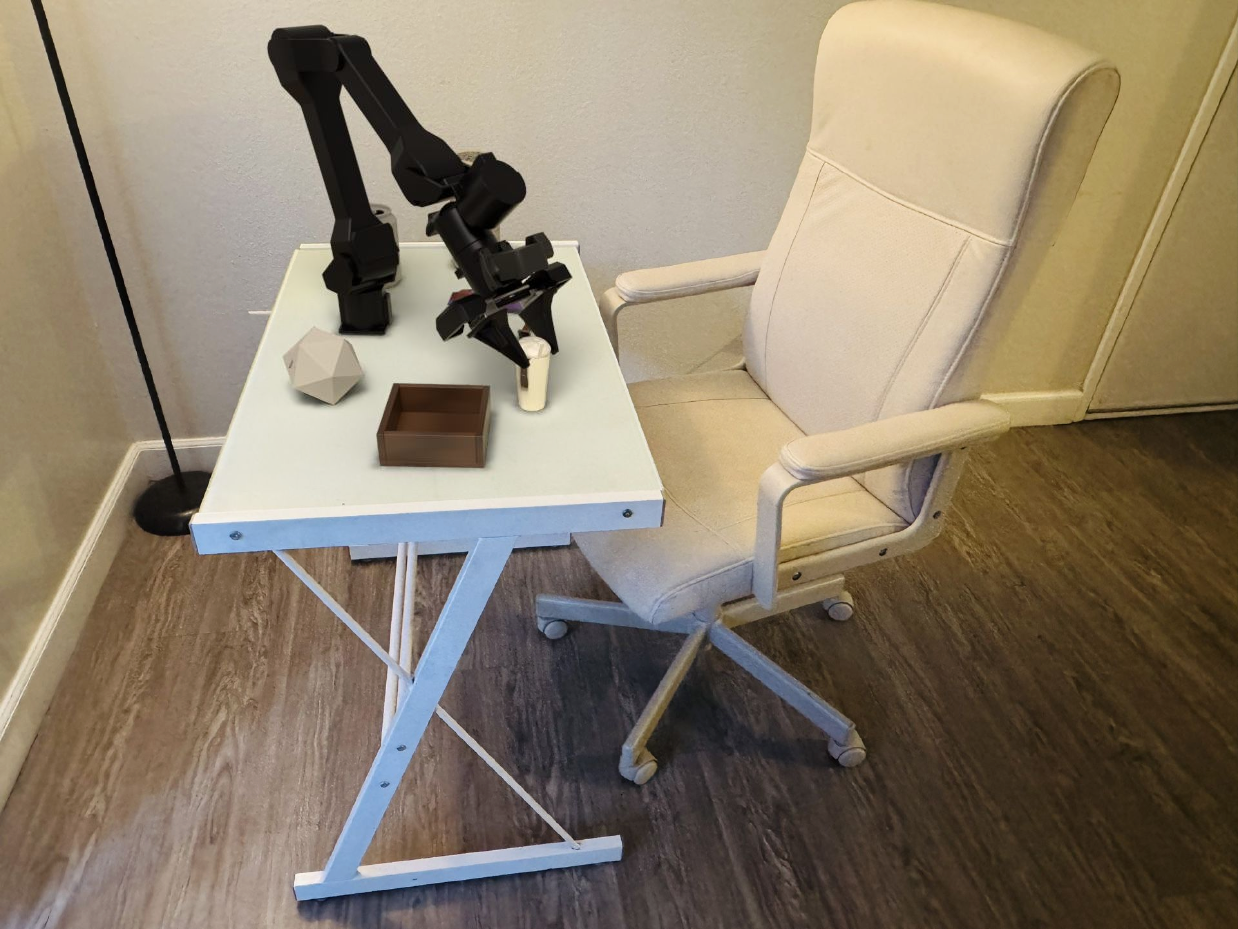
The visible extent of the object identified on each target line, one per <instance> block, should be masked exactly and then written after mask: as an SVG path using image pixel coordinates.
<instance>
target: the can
mask: <svg viewBox="0 0 1238 929" xmlns="http://www.w3.org/2000/svg"><path fill="white" fill-rule="evenodd" d="M369 203H370V202H369ZM370 207H371V210H372V212H373V213H374V214H375V215H376V216H377V217H378V218H379V219H380V221H381V222H382V223H383V224H384V223H387V222H388V223H390V225H391V226H392V228H393V232H394V237H395V241H396V244H397V246H398V248H399V249H400V242H399V230H398V219H397V217H396V215H394V214H393V213H392V208H391V207H390V206H389V205H387V204H383V203H377V202H376V203H375V202H371V203H370ZM400 252H401V251H400ZM400 252H398V253H399V265H398V267H397V272H396V278H395V282H392V283H391V282H390V283H387V284H385V285H386V289H390V288H392V287H394V286H396V285H397V284H398V282H399V281H400V280H401V279H402V276H403V274H402V262H401V253H400Z"/></svg>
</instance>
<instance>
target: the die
mask: <svg viewBox="0 0 1238 929" xmlns="http://www.w3.org/2000/svg"><path fill="white" fill-rule="evenodd" d="M282 360H283V361H284V365H285V368H286V371H287V373H288V374H287V375H288V377H289V380H290V383H291V386H292V388H293V389H295V390H297V391H300V392H302V393H304V394H306V395H309V396H311V397H313V398H316V399H318V400H321V401H323V402H326V403H327V404H329V405H332V406H335V404H337V402H338V401H339V400H341V399H342V397H344V396H345V395H346V394H347V392H348V391H349V390H351V389H352V388H353V387H354V386H355V384H357V383H358V382H359V381H360V380H361V379H362V378H363V377H364V376H365V374H364V371H363V368H362V367H361V366H362V365H361V364H360V361H359V359H358V356H357V353H356V350H355V349H354V346H353V344H352V343H351V342H349V341H348V340H347V339H346V338H345V337H342V336H340V335H338V334H337V335H336V334H334V333H332V332H329V331H326V330H323V329H321V328H319V327H316V326H312V327H311V328H310V330H308V331H307V332H306V333H305V334H304V335H303V336H302V337H301V338H300V339H299V340H298V341H297V342H296V343H295V344H294V345H293V346H292V347H290V348H289V350H288V351H287V352H286V353H284V354H283V355H282Z"/></svg>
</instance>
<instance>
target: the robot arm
mask: <svg viewBox="0 0 1238 929" xmlns="http://www.w3.org/2000/svg"><path fill="white" fill-rule="evenodd" d="M266 49H267V55H268V59H269V62H270V63H271V65H272V67H273V69H274V71H275V74H276V78H277V79H278V81H279V84H280V86H281V88H283V89H284V91H286V92H287V94H288V95H290V97H291V98H292V99H293V100H294V101H295V102H296V103H297V104H298V105H299V107H300V109H301V112H302V115H303V118H304V121H305V125H306V128H307V132H308V134H309V138H310V142H311V145H312V148H313V151H314V154H315V157H316V161H317V164H318V168H319V171H320V174H321V177H322V180H323V184H324V187H325V190H326V194H327V196H328V197H327V198H328V201H329V204H330V206H331V210H332V213H333V217H334V224H333V228H332V232H331V236H330V241H329V245H330V249H331V254H332V260H331V261H330V263H329V264H328V265H327V266H326V268H325V269H324V270H323V272H322V273H321V277H322V279H323V283H324V285H325V288H326V290H328V291H330V292H333V293H334V294H336V295H337V302H338V310H339V317H340V318H339V319H340V326H339V327H338V329H337V330H338V333H339V334H340V335H341V334H342V335H373V336H375V335H379V336H383V335H385V334H386V332H387V330H388V328H389V326H390V325H391V323H392V321H393V307H392V306H393V305H392V296H391V293H390V292H389V291H387V288H386V285H385V284H387V283H390V282H391V283H392V282H395V278H396V272H397V267H398V265H399V253H398V252H401V250H400V247H399V248H398V246H397V244H396V241H395V237H394V232H393V228H392V226H391V225H390V223H388V222H387V223H384V224H383V223H382V222H381V221H380V219H379V218H378V217H377V216H376V215H375V214H374V213H373V212H372V210H371V207H370V200H369V197H368V196H369V195H368V193H367V190H366V186H365V182H364V179H363V176H362V172H361V168H360V165H359V162H358V159H357V156H356V151H355V148H354V144H353V140H352V137H351V134H350V131H349V130H350V129H349V127H348V122H347V121H346V116H345V113H344V110H343V106H342V102H341V93H342V89H343V87H344V89H345V90H346V92H347V94H348V95H349V97H350V98H351V99H352V100H353V102H354V104H355V105H356V106H357V108H358V109H359V110H360V112H361V114H362V115H363V117H364V118H365V119H366V121H367V122H368V123H369V125H370V126H371V128H372V129H373V130H374V132H375V133H376V136H378V138H379V139H380V141H381V143H382V144H383V145H384V147H385V149H386V150H387V152H388V154H389V156H390V171H391V172H390V173H391V175H392V176H393V179H394V181H395V182H396V184H397V186H398V188H399V189H400V191H401V193H402V195H403V196H404V198H405V200H406V201H407V202H408V203H409V204H410V205H411V206H413V207H417V208H418V207H419V208H426V207H430V206H432V205H436V204H441V203H445V202H446V203H445V204H443V206H442V207H441V208H440V209H439V210H436V211H433V212H428V214H427V223H426V226H425V236H426V237H427V238H429V237H430V238H431V237H434V236H438V235H439V237H440V239H441V240H442V242H443V243H444V245H445V247H446V248H447V251H448V252H449V254H450V255H451V257H452V259H453V258H454V260H455V262H456V264H457V265H458V267H459V268H457V269H456V270H454V271H453V274H454V275H455V277H456V279H457V280H458V281H459V280H462V279H465V280H466V282H467V283H468V286H469V287H470V289H472V290H473V292H474V293H473V294H471V295H468V296H465V297H463V298H460V299H458V300H455V301H453V302H452V303H451V304H450V305H447V306H446V307H445V309H443V310H442V311H441V312H440V314H438V315H437V317H435V330H436V332H437V333H438V335H439V337H440V338H441V340H442V342H444V343H445V342H448V341H450V340H452V339H455V338H457V337H460V336H462V335H463V334H464V331H465V326H466V324H467V325H468V327H469V329H470V331H469V332H468V333H467V334H466V337H467V339H468V340H470V339H475V340H477V341H479V342H481V343H483V344H484V345H486V346H488V347H489V348H491V349H493V350H494V351H496V352H498V353H499V354H501V355H502V356H504V357H505V358H507V360H509V361H511V362H513V363H514V365H515V364H517V365H518V366H520V367H521V368H523V369H527V368H528V367H529V366H530V363H529V360H528V358H527V356H526V354H525V352H524V350H523V349H522V347H521V345H520V343H519V342H518V341H519V340H518V338H517V337H516V335H515V333H514V331H513V330H512V328H511V326H510V323H509V316H508V315H509V314H508V313H509V312H507V308H505V307H507V306H510V305H512V304H514V303H517V302H520V304H521V306H522V307H523V310H521V311H520V312H519V313H517V314H518V316H519V318H520V319H521V320H522V321H523V323H524V325H525V324H526V325H527V326H528V327H529V328H530V330H531V332H532V333H533V336H535V337H539V338H542V339H544V340H545V341H546V342H547V343H548V344H549V345H550V347H551V352H550V355H552V356H556V355H557V354H558V353H559V352H560V348H559V344H558V338H557V334H556V329H555V325H554V319H553V312H552V304H553V300H554V296H555V295H556V294H557V293H558V291H559V290H560V289H562V287H564V286H565V285H566V284H567V283H569V281H571V280H572V279H573V274H572V273H571V272H570V270H569V268H568V267H567V265H566V264H565V263H563V262H561V261H558V260H557V261H554V262H551V263H549V259H552V258H553V257H554V256H555V251H554V248H553V244H552V242H551V241H550V239H549V237H547V235H546V234H545V232H544V231H540V232H537V233H533V234H530V235H528V236H527V235H526V236H525V239H524V245H522V246H519V247H516V248H513V246H512V244H510V242H509V241H508V240H506V239H502V240H500V241H499V242H498V240H497V238H496V237H495V235H494V233H493V232H492V230H491V229H495V228H496V227H498V226H499V225H500V226H501V225H502V223H503V222H504V221H505V220H506V219H507V218H509V216H510V215H511V214H512V213H513V212H514V210H516V208H517V207H519V206H520V204H522V202H524V199H526V195H527V185H526V181H525V179H524V177H523V176H522V174H521V172H519V171H517V170H516V169H515V168H514V167H513V166H512V165H510V164H509V163H507V162H506V161H502V160H500V159H498V158H497V157H496V158H497V159H496V158H495V156H496V155H495V153H493V151H486V152H487V153H483V154H479V155H478V156H477V157H476V158H475V160H474V161H473V164H472V166H470V165H468V164H466V163H464V162H463V161H462V160H461V159H460V158H459V156H458V155H457V154H456V153H455V151H454V150H453V149H452V148H451V146H450V145H449V144H448V143H447V142H446V141H445V140H444V139H443V138H441V137H440V136H438V135H436V134H434V133H433V132H431V131H429V130H427V129H426V128H425V127H424V126H423V125H422V123H420V122H419V121H418V119H417V117H416V115H414V113H413V112H412V110H411V109H410V108H409V106H408V104H407V103H406V101H405V100H404V99H403V97H402V96H401V94H400V93H399V91H398V90H397V89H396V87H395V86H394V84H393V83H392V81H391V80H390V79H389V77H388V76H387V75H386V73H385V72H384V70H383V69H382V67H381V65H379V63H378V61H377V60H376V59H375V57H374V56H373V53H372V52H373V51H372V49H371V45H370V44H369V42H368V40H367V39H366V38H365V37H363V36H360V35H359V34H348V33H335V32H334V31H331V30H330V29H329V28H328V27H327V26H325V25H324V24H311V25H310V24H309V25H298V26H288V27H276V28H275V29H274V30H273V31H272V33H271V35H270V39H269V40H268V42H267V46H266ZM494 155H495V156H494ZM451 199H456V201H451V202H450V200H451ZM447 201H448V202H447ZM513 295H514V296H513ZM510 296H513V297H510ZM497 301H500V302H497ZM495 302H497V303H495ZM502 308H504V309H502ZM500 309H502V310H500ZM499 310H500V311H499Z"/></svg>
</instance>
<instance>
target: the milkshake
mask: <svg viewBox="0 0 1238 929" xmlns="http://www.w3.org/2000/svg"><path fill="white" fill-rule="evenodd" d="M518 342H519V343H520V345H521V347H522V349H523V350H524V352H525V354H526V356H527V358H528V360H529V363H530V366H529V367H528V368H527V369H523V368H521V367H520V366H518V365H517V364H515V363H514V365H515V373H516V374H515V375H516V385H517V395H518V405H519V407H520V408H521V409H522V410H525V411H526V412H538V411H540V410H543V409H544V408H545V406H546V399H547V388H548V379H549V378H548V376H549V367H550V359H551V353H550V352H551V347H550V345H549V344H548V343H547V342H546V341H545V340H544V339H542V338H539V337H536V336H535V335H531V336H529V337H524V338H522V339H519V340H518Z"/></svg>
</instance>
